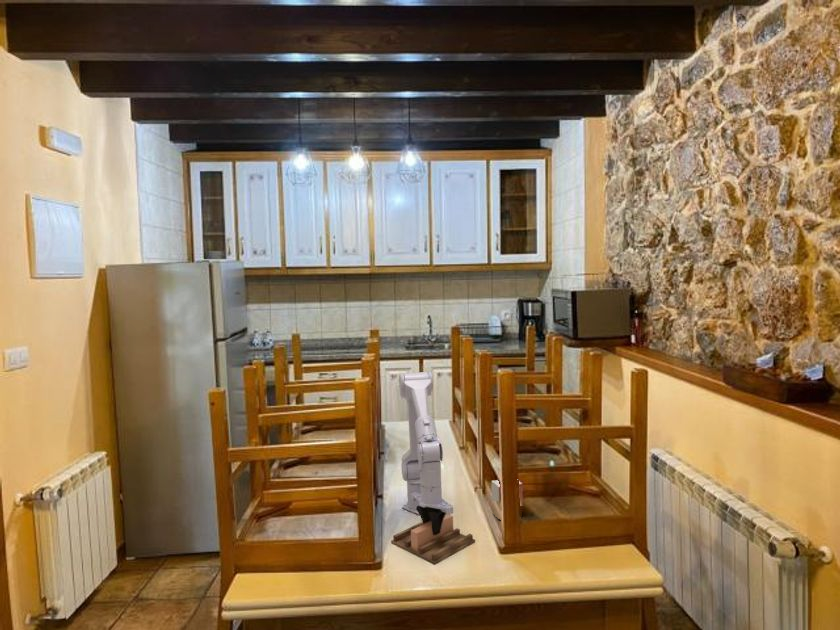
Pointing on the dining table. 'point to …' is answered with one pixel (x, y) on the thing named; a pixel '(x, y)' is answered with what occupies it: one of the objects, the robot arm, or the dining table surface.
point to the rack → (434, 544)
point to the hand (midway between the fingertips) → (432, 531)
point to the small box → (496, 491)
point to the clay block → (429, 532)
